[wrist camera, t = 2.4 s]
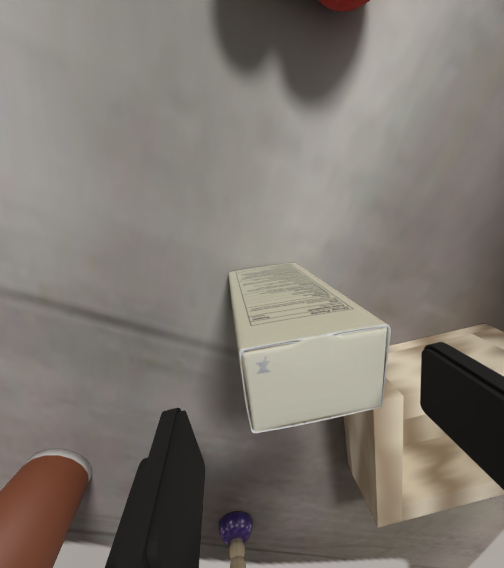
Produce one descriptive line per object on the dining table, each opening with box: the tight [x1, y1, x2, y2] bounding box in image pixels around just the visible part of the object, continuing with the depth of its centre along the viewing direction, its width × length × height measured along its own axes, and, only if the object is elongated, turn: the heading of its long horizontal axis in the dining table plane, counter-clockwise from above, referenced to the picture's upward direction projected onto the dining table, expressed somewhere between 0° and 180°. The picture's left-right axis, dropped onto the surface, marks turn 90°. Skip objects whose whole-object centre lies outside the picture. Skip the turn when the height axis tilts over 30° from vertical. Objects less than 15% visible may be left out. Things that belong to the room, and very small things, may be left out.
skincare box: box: [228, 263, 391, 433], centre depth 15 cm, size 6×4×12 cm
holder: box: [344, 324, 504, 528], centre depth 24 cm, size 16×16×6 cm
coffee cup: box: [0, 449, 92, 568], centre depth 19 cm, size 9×9×12 cm
